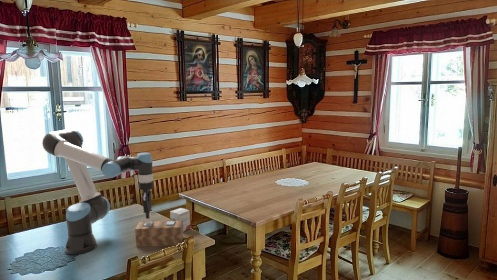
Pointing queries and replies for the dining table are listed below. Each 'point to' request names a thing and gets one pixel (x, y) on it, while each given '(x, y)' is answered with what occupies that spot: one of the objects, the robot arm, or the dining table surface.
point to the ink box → (181, 217)
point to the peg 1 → (148, 225)
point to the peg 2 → (170, 223)
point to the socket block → (159, 234)
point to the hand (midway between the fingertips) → (148, 223)
